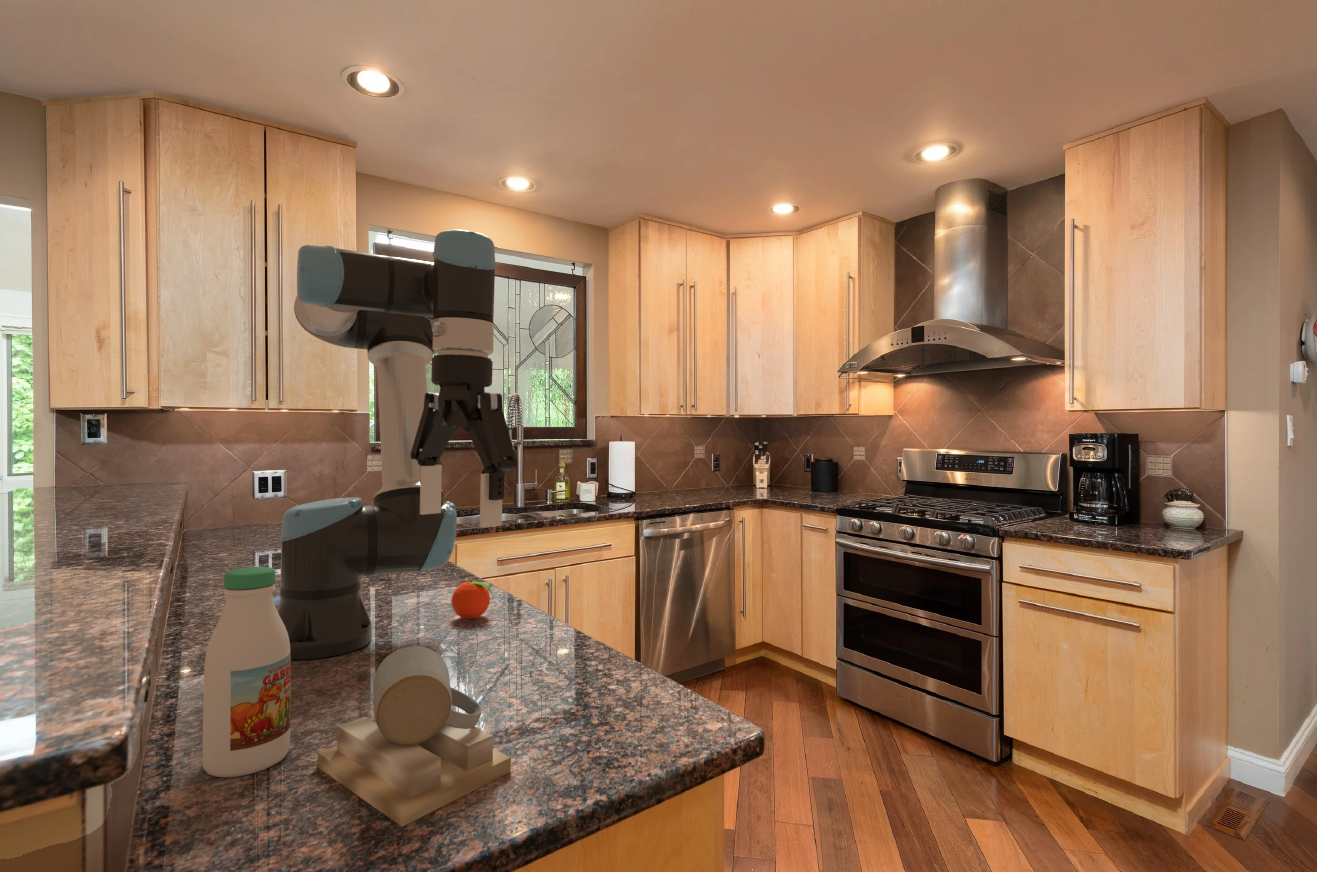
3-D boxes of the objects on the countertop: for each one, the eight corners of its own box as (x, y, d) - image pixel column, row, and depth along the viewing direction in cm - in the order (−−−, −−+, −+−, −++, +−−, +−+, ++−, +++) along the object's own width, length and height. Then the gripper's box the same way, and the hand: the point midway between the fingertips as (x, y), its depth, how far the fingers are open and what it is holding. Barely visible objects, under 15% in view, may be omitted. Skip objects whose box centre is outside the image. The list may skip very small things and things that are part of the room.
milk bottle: (193, 786, 63) (196, 580, 63) (212, 750, 70) (214, 565, 70) (284, 770, 66) (287, 574, 66) (293, 737, 73) (296, 560, 73)
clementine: (501, 615, 123) (502, 578, 123) (483, 625, 117) (484, 586, 117) (463, 612, 125) (464, 575, 125) (443, 621, 118) (444, 583, 118)
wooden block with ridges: (317, 766, 67) (318, 728, 67) (422, 726, 76) (423, 692, 76) (401, 826, 57) (402, 781, 57) (510, 771, 66) (511, 732, 66)
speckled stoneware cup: (372, 756, 61) (375, 675, 61) (371, 721, 68) (374, 648, 68) (487, 738, 65) (490, 662, 65) (474, 706, 73) (476, 638, 73)
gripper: (386, 356, 88) (383, 511, 89) (497, 347, 72) (493, 536, 73) (435, 361, 94) (432, 506, 95) (549, 354, 78) (544, 528, 79)
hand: (459, 519), depth 84 cm, fingers open, 13 cm apart
